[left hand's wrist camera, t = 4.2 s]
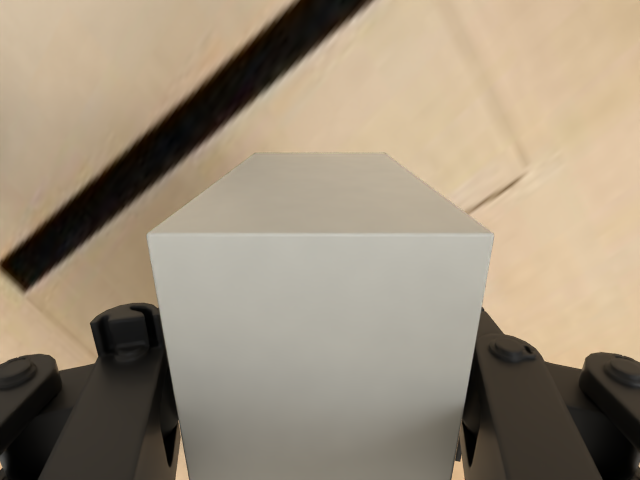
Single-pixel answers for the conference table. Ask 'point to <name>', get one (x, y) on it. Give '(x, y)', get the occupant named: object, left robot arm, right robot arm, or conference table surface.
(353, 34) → the conference table surface
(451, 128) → the conference table surface
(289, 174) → the bar
